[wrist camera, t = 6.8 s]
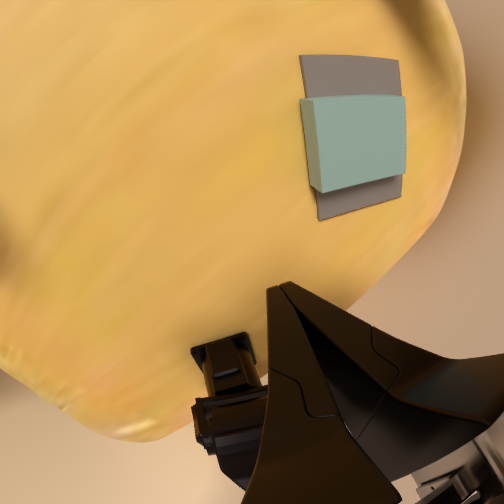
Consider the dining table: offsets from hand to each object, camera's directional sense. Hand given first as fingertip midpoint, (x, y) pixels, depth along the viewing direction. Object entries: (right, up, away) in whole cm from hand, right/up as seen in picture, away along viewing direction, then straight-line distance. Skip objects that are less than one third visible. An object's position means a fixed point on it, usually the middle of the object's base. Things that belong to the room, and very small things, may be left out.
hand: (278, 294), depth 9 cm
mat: (+8, +11, +11) cm, 18 cm away
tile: (+3, +9, +9) cm, 13 cm away
